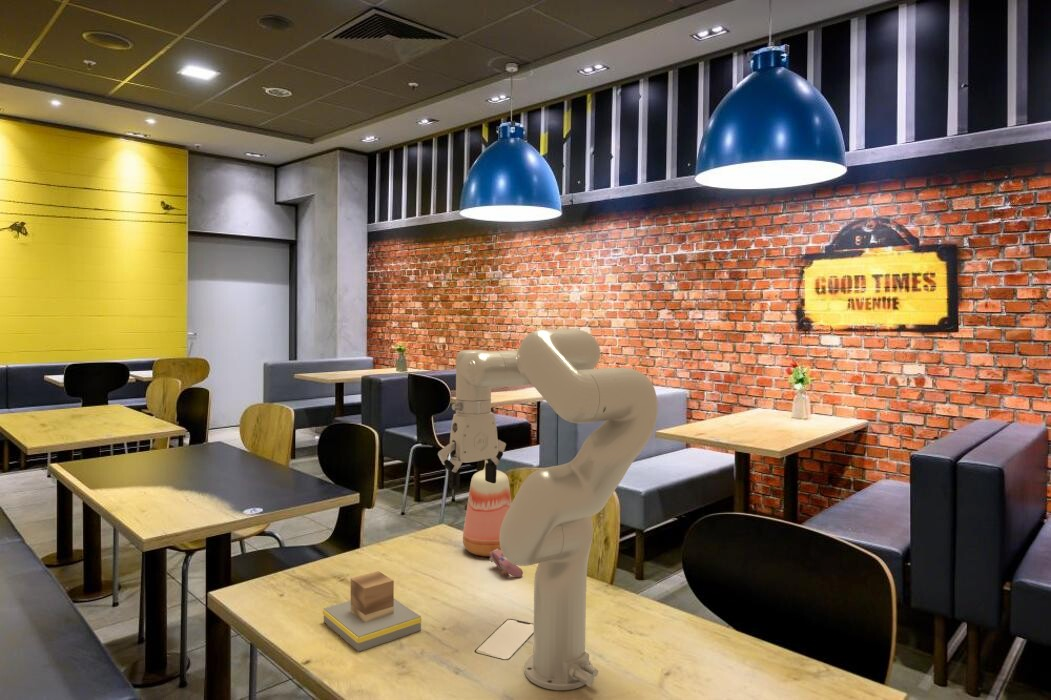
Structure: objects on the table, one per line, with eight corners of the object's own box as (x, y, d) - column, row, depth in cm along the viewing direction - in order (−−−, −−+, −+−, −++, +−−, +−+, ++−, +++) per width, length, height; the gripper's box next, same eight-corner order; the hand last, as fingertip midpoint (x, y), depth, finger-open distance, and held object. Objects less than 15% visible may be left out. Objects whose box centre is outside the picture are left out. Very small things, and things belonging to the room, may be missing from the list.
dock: (421, 630, 141) (421, 616, 140) (358, 652, 131) (358, 637, 131) (383, 604, 153) (383, 591, 153) (322, 622, 144) (322, 608, 144)
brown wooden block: (393, 613, 142) (393, 580, 141) (365, 622, 138) (365, 588, 137) (378, 602, 147) (378, 571, 146) (350, 611, 143) (350, 578, 142)
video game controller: (494, 572, 177) (483, 550, 175) (509, 562, 178) (498, 540, 176) (510, 586, 168) (499, 563, 166) (525, 575, 169) (514, 552, 168)
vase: (482, 538, 197) (483, 437, 195) (524, 548, 190) (526, 443, 188) (452, 554, 185) (452, 446, 183) (496, 564, 177) (497, 452, 176)
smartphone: (508, 664, 129) (541, 627, 143) (508, 661, 129) (541, 625, 143) (471, 654, 132) (507, 620, 147) (471, 652, 132) (507, 617, 147)
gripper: (449, 413, 138) (449, 496, 139) (515, 406, 149) (514, 483, 150) (429, 408, 144) (429, 488, 145) (494, 402, 155) (493, 476, 156)
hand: (472, 485), depth 147 cm, fingers open, 9 cm apart
